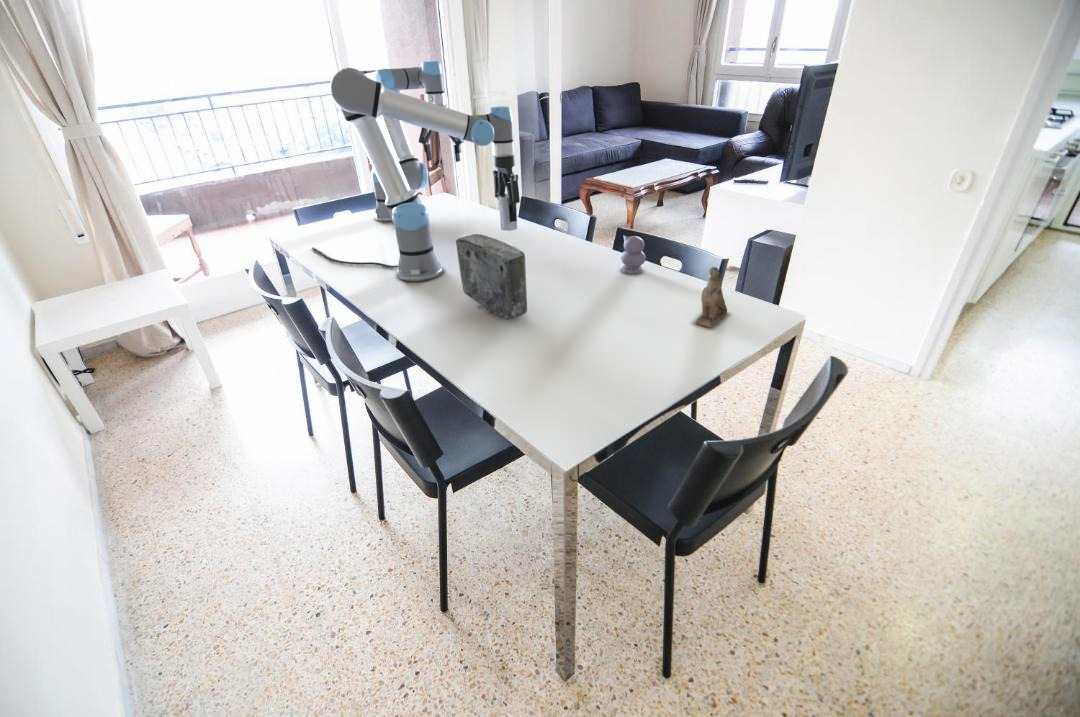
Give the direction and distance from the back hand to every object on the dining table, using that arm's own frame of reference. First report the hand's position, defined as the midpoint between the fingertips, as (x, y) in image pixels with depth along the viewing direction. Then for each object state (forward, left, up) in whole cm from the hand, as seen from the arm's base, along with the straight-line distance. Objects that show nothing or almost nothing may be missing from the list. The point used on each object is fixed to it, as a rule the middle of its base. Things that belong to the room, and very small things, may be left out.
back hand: (443, 161), depth 212 cm
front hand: (+25, +39, -16) cm, 49 cm away
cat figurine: (+37, +89, -28) cm, 100 cm away
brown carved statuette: (+67, +116, -28) cm, 137 cm away
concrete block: (+78, +55, -28) cm, 99 cm away
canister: (+25, +39, -19) cm, 50 cm away
